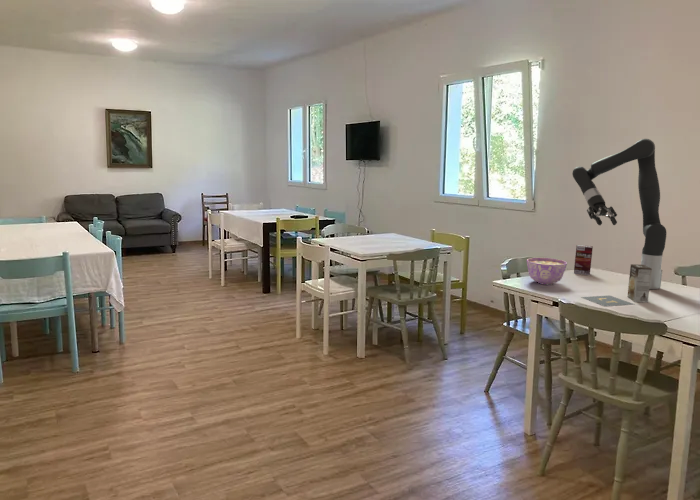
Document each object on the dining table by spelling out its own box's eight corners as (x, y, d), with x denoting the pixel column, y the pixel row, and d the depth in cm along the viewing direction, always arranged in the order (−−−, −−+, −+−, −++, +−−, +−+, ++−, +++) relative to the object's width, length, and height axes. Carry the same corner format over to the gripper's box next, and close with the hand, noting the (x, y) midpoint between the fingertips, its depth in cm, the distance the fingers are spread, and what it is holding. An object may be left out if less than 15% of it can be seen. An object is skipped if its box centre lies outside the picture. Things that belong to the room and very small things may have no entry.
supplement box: (573, 273, 315) (576, 246, 312) (573, 272, 319) (576, 244, 317) (590, 275, 312) (592, 247, 309) (590, 273, 316) (592, 246, 314)
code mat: (609, 295, 267) (609, 295, 267) (634, 304, 251) (634, 304, 251) (581, 297, 262) (581, 297, 262) (604, 306, 247) (604, 306, 247)
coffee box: (626, 297, 264) (629, 263, 262) (640, 297, 264) (644, 264, 261) (634, 302, 255) (637, 267, 253) (648, 302, 255) (652, 268, 252)
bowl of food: (543, 288, 278) (545, 266, 276) (516, 280, 296) (518, 258, 294) (574, 285, 286) (575, 263, 284) (546, 277, 304) (547, 256, 302)
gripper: (586, 194, 279) (600, 219, 270) (610, 194, 282) (624, 219, 274) (578, 204, 285) (591, 229, 276) (602, 203, 288) (615, 228, 279)
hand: (608, 224), depth 275 cm, fingers open, 8 cm apart
